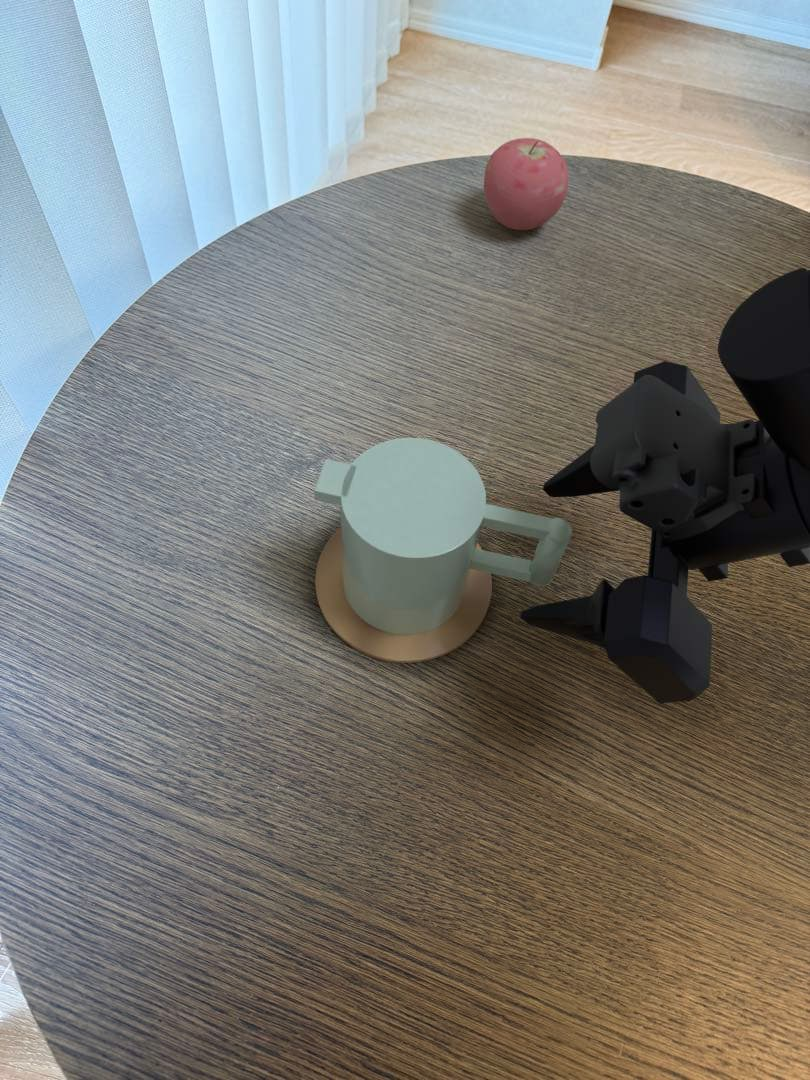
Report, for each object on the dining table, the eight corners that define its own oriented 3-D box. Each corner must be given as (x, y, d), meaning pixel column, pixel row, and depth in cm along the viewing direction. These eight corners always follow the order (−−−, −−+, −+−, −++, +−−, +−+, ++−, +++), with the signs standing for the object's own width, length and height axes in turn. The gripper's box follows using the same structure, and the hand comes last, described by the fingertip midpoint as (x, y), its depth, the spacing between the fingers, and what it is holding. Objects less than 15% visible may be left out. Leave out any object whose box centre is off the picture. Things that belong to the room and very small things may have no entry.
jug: (307, 614, 54) (298, 530, 45) (340, 510, 58) (338, 416, 50) (530, 665, 53) (566, 590, 44) (547, 556, 57) (583, 468, 49)
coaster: (510, 536, 58) (511, 533, 58) (463, 687, 52) (464, 685, 52) (351, 488, 60) (351, 485, 60) (288, 629, 54) (287, 627, 53)
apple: (537, 190, 79) (555, 110, 73) (569, 239, 76) (590, 160, 69) (466, 202, 78) (477, 121, 71) (494, 253, 74) (509, 173, 67)
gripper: (741, 239, 40) (484, 354, 50) (733, 564, 30) (416, 624, 40) (824, 385, 46) (580, 461, 56) (840, 694, 36) (542, 718, 46)
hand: (535, 551), depth 49 cm, fingers open, 9 cm apart
